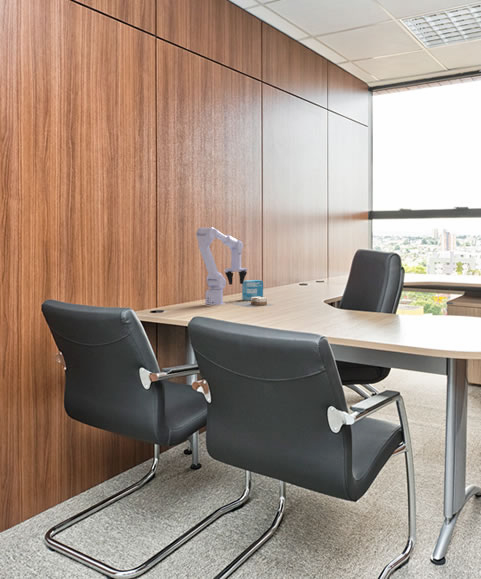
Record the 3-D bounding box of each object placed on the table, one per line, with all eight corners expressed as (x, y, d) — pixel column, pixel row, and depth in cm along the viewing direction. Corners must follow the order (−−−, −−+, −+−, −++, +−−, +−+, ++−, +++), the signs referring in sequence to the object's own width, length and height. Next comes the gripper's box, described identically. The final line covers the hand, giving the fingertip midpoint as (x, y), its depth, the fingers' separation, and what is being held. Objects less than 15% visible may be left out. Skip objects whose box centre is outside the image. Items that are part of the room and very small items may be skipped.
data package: (245, 301, 324) (245, 281, 323) (242, 300, 328) (242, 280, 327) (263, 300, 330) (263, 280, 329) (259, 299, 334) (259, 279, 333)
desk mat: (248, 308, 295) (248, 307, 295) (230, 304, 309) (230, 303, 309) (274, 305, 305) (274, 304, 305) (256, 302, 319) (256, 301, 319)
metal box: (250, 304, 307) (250, 297, 307) (258, 303, 310) (258, 296, 310) (259, 305, 301) (259, 298, 300) (266, 305, 304) (266, 297, 303)
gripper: (229, 261, 312) (229, 285, 314) (250, 260, 321) (250, 284, 322) (222, 260, 318) (222, 284, 320) (243, 260, 326) (243, 283, 328)
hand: (236, 284), depth 321 cm, fingers open, 7 cm apart
